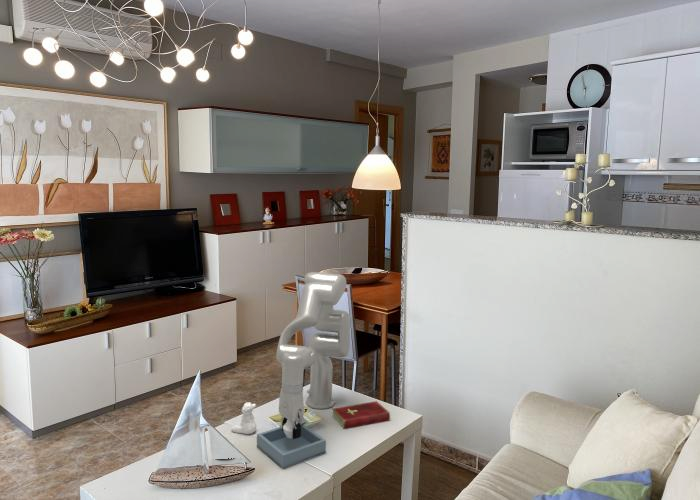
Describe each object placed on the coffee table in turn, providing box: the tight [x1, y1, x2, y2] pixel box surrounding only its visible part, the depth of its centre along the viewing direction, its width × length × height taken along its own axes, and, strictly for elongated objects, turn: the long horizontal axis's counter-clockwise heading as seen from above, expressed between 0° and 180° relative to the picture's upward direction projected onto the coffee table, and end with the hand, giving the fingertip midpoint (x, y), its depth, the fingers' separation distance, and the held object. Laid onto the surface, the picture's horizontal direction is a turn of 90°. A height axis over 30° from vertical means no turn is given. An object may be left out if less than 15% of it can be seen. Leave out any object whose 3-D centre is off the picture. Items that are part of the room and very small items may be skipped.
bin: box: [256, 421, 327, 470], centre depth 195 cm, size 18×18×5 cm
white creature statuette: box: [230, 401, 258, 435], centre depth 208 cm, size 10×9×12 cm
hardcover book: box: [331, 400, 391, 430], centre depth 222 cm, size 12×21×4 cm, turn 115°
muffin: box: [283, 420, 298, 439], centre depth 194 cm, size 6×6×7 cm
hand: (291, 433), depth 194 cm, fingers closed on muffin, 6 cm apart
